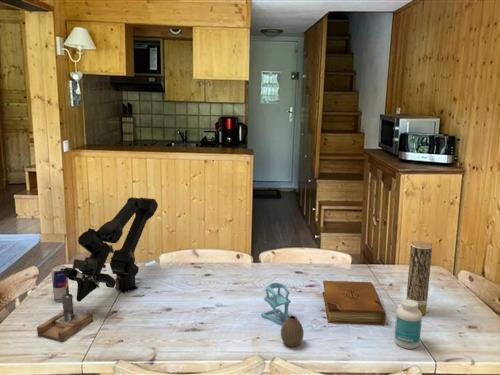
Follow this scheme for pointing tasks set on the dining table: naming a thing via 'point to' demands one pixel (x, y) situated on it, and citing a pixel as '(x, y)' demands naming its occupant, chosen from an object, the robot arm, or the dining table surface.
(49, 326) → the walnut guide
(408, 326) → the pill bottle
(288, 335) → the vase
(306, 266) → the dining table surface
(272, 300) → the chair
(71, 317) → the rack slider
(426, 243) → the wooden log
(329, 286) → the diary
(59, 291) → the energy drink
